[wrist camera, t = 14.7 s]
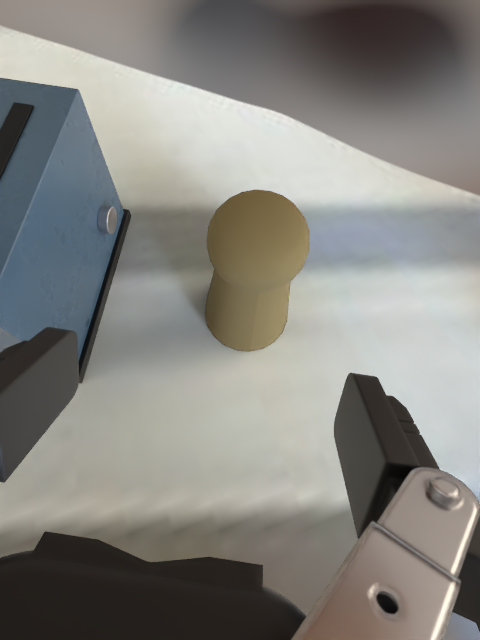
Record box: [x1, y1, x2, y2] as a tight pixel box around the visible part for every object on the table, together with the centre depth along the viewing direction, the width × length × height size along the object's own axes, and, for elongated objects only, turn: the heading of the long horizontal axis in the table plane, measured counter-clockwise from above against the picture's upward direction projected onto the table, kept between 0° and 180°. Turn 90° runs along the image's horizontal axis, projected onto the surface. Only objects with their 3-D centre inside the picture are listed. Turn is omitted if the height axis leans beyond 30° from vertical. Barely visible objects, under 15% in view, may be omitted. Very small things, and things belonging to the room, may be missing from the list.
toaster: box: [0, 78, 131, 383], centre depth 23 cm, size 8×14×11 cm, turn 172°
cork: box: [205, 190, 309, 351], centre depth 23 cm, size 6×6×11 cm
